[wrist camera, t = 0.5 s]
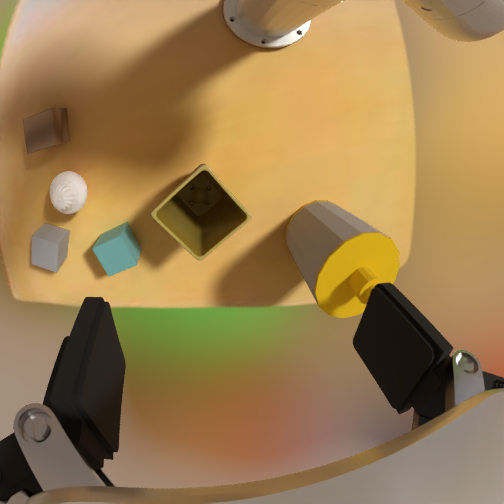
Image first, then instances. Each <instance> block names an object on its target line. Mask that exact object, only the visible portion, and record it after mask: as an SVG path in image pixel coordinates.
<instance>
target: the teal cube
mask: <svg viewBox="0 0 504 504" xmlns="http://www.w3.org/2000/svg"><path fill="white" fill-rule="evenodd" d="M92 249H93V251H94V253H95V255H96V256H97V258H98V260H99V261H100V263H101V265H102V266H103V268H104V270H105V271H106V273H107V274H108V276H111V275H114V274H116V273H119V272H121V271H124V270H126V269H128V268H131V267H133V266H136V265H137V262H138V259H139V255H140V252H141V248H140V246H139V244H138V242H137V240H136V238H135V236H134V234H133V233H132V231H131V229H130V227H129V225H128V223H127V222H126V223H124V224H122V225H120V226H118V227H115V228H113V229H111V230H109V231H107V232H105V233H103V234H101V235H100V237H99V238H98V240H97V241H96V243H95V245H94V246H93V248H92Z"/></svg>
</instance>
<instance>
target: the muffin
mask: <svg viewBox="0 0 504 504" xmlns="http://www.w3.org/2000/svg"><path fill="white" fill-rule="evenodd" d="M87 194H88V193H87V185H86V182H84V179H83V178H82V176H80V175H79V174H77V173H75V172H73V171H65V172H62V173H60V174H58V175H57V176H56V177H55V178H54V179H53V181H52V183H51V186H50V198H51V203H52V204H53V206H54V207H55V208H56V209H57V210H58V211H59V212H61V213H64V214H73V213H75V212H77V211H79V210H80V209H81V208H82V207H83V206H84V204H85V202H86V199H87Z"/></svg>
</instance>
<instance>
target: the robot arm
mask: <svg viewBox="0 0 504 504" xmlns="http://www.w3.org/2000/svg"><path fill="white" fill-rule="evenodd" d="M342 1H344V0H225V1H224V6H223V15H224V18H225V21H226V23H227V25H228V27H229V28H230V29H231V31H232V32H233V33H234V34H235V35H236V36H238V37H239V38H240V39H242V40H243V41H245V42H247V43H249V44H252V45H254V46H258V47H263V48H281V47H285V46H288V45H291V44H293V43H295V42H296V41H298V40H300V39H301V38H302V37H303V36H304V35H305V34H306V32H307V31H308V29H309V27H310V24H311V20H312V19H313V18H315V17H316V16H318V15H320V14H321V13H323V12H325V11H326V10H328V9H330V8H332V7H333V6H335V5H337V4H339V3H341V2H342ZM402 1H403V2H405V3H406V4H407V5H408V6H409V7H411V8H412V9H413V10H414V11H415V12H416V13H417V14H419V15H420V16H421V17H422V18H423V19H424V20H425V21H426V22H427V23H429V24H430V25H431V26H432V27H433V28H434V29H436V30H437V31H438V32H440V33H441V34H443V35H444V36H446V37H449V38H451V39H453V40H457V41H462V42H475V41H480V40H484V39H487V38H489V37H492V36H494V35H495V34H497V33H499V32H501V31H502V30H504V0H402ZM230 20H233V22H231V21H230ZM297 33H298V34H299V35H298V34H297ZM261 41H263V42H264V44H263V43H262V42H261ZM353 345H354V348H355V350H356V351H357V353H358V354H359V356H360V357H361V359H362V360H363V361H364V363H365V365H366V366H367V368H368V370H369V371H370V373H371V374H372V376H373V377H374V379H375V380H376V382H377V384H378V385H379V387H380V388H381V390H382V392H383V393H384V395H385V396H386V398H387V400H388V401H389V403H390V404H391V406H392V407H393V408H395V409H396V410H397V412H398V413H399V414H401V413H403V412H406V411H408V410H409V409H410V408H411V407H413V408H414V413H413V421H412V428H411V431H410V432H408V433H406V434H404V435H402V436H399V437H397V438H395V439H393V440H391V441H388V442H386V443H384V444H382V445H379V446H377V447H374V448H372V449H369V450H367V451H365V452H362V453H359V454H357V455H354V456H351V457H348V458H345V459H342V460H340V461H336V462H333V463H330V464H327V465H324V466H320V467H317V468H313V469H310V470H306V471H302V472H298V473H294V474H289V475H285V476H281V477H276V478H270V479H265V480H260V481H254V482H247V483H240V484H233V485H223V486H212V487H199V488H198V487H197V488H176V489H175V488H170V489H159V488H156V489H155V488H127V487H126V488H125V487H117V486H116V485H115V484H114V483H113V482H112V480H111V479H110V478H109V477H108V476H107V474H106V473H105V472H104V471H103V469H102V467H103V464H104V459H112V460H113V452H118V448H119V430H120V415H121V403H122V393H123V384H124V374H125V359H124V355H123V352H122V349H121V345H120V342H119V338H118V335H117V331H116V328H115V324H114V320H113V317H112V312H111V308H110V304H109V302H104V299H103V298H102V297H86V298H85V299H84V301H83V304H82V306H81V308H80V311H79V313H78V316H77V318H76V321H75V323H74V326H73V329H72V331H71V334H70V336H67V337H65V338H64V340H63V343H62V345H61V348H60V350H59V353H58V356H57V359H56V362H55V365H54V368H53V371H52V374H51V377H50V381H49V384H48V387H47V390H46V394H45V397H44V401H43V405H42V404H39V403H32V404H29V405H26V406H24V407H23V408H22V409H21V410H20V411H19V412H18V413H17V414H16V417H15V419H14V427H13V429H14V433H13V434H11V435H10V436H8V437H6V438H4V439H3V440H1V441H0V504H504V378H503V377H499V376H496V375H493V374H490V373H487V372H484V371H482V367H481V364H480V362H479V360H478V359H477V358H476V357H475V356H474V355H473V354H472V353H470V352H468V351H465V350H457V351H456V352H455V353H454V354H453V356H452V357H450V356H449V354H450V353H451V351H452V350H453V347H452V346H451V344H450V343H449V342H448V341H447V340H446V339H445V338H444V337H443V336H442V335H441V334H440V332H439V331H438V330H437V329H436V328H435V327H434V326H433V325H432V324H431V323H430V322H429V321H428V320H427V319H426V317H425V316H424V315H423V314H422V313H421V312H420V311H419V310H418V309H417V308H416V307H415V306H414V305H413V304H412V303H411V302H410V301H409V300H408V299H407V298H406V297H405V296H404V295H403V294H402V293H401V292H400V291H399V290H398V289H397V288H396V287H395V286H394V285H393V284H392V283H389V282H388V283H379V284H376V285H375V287H374V288H373V289H372V290H371V293H370V296H369V299H368V302H367V304H366V307H365V310H364V313H363V316H362V318H361V321H360V323H359V326H358V328H357V331H356V333H355V336H354V338H353Z"/></svg>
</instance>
